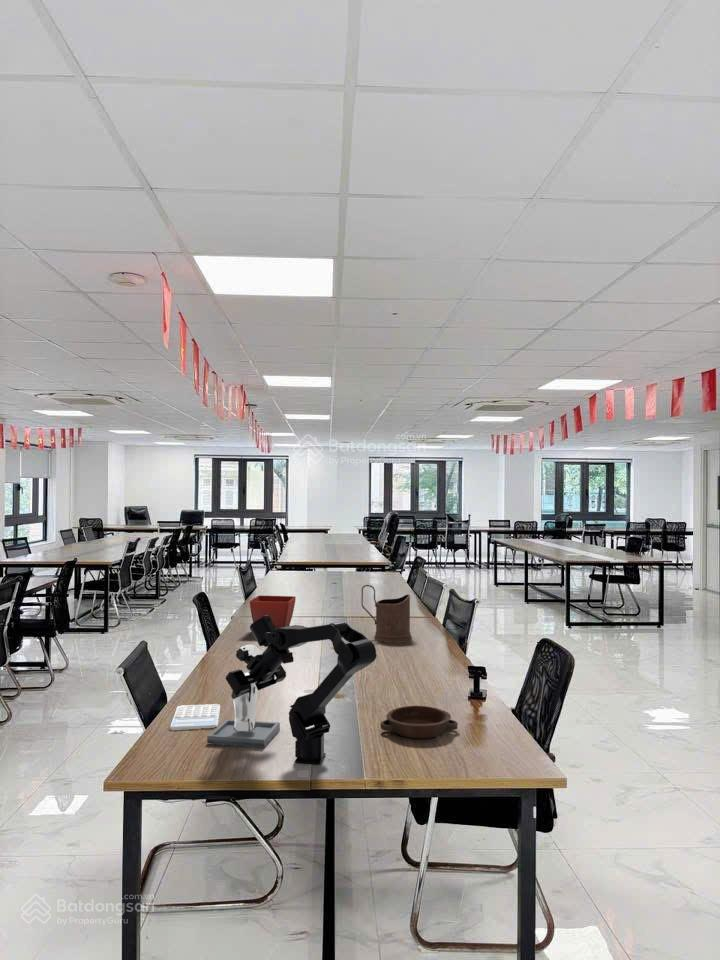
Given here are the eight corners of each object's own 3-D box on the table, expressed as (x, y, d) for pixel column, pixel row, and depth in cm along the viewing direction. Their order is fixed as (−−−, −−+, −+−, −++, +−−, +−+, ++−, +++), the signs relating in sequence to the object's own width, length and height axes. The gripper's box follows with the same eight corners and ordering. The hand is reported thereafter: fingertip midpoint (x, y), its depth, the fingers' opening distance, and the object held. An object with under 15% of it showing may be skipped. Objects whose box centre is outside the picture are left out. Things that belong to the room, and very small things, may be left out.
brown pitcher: (414, 642, 314) (414, 587, 315) (361, 642, 314) (361, 587, 314) (410, 634, 333) (410, 582, 333) (361, 634, 332) (361, 582, 333)
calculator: (220, 708, 218) (220, 702, 218) (217, 730, 198) (217, 723, 198) (177, 710, 216) (177, 704, 216) (169, 732, 196) (169, 725, 196)
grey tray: (279, 730, 197) (279, 722, 197) (264, 748, 183) (264, 739, 183) (226, 726, 199) (226, 719, 200) (207, 744, 186) (207, 735, 186)
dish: (377, 722, 204) (377, 705, 204) (450, 721, 206) (450, 704, 206) (383, 744, 187) (383, 725, 187) (464, 741, 189) (464, 723, 189)
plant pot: (296, 629, 343) (296, 595, 343) (288, 637, 324) (288, 601, 324) (258, 628, 345) (258, 595, 345) (248, 636, 326) (248, 601, 326)
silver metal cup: (233, 725, 194) (234, 671, 195) (258, 724, 195) (258, 671, 195) (230, 733, 187) (231, 677, 188) (256, 732, 188) (257, 677, 188)
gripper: (278, 630, 197) (250, 664, 203) (230, 642, 182) (201, 678, 188) (299, 662, 192) (270, 695, 198) (252, 676, 177) (222, 712, 183)
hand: (241, 694), depth 192 cm, fingers closed on silver metal cup, 7 cm apart
